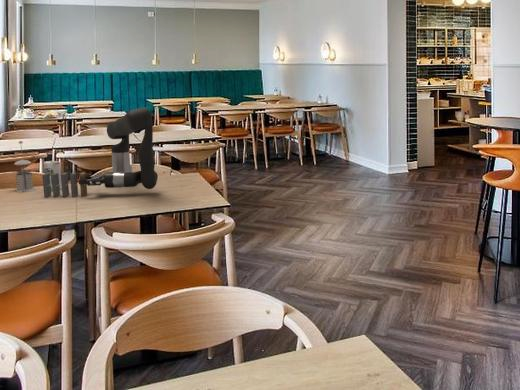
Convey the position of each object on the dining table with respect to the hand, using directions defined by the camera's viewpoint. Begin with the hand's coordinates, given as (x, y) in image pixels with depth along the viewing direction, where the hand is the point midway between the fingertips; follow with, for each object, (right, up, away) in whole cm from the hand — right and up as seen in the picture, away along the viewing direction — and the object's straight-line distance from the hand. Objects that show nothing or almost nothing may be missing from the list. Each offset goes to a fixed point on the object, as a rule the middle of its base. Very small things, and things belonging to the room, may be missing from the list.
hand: (81, 180), depth 270 cm
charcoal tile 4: (-12, -8, +1) cm, 14 cm away
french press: (-34, -5, +16) cm, 38 cm away
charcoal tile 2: (-4, -7, +1) cm, 8 cm away
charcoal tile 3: (-8, -7, +1) cm, 11 cm away
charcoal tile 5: (-16, -8, +1) cm, 18 cm away
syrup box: (-19, -4, +16) cm, 26 cm away
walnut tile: (+1, -7, +2) cm, 8 cm away
